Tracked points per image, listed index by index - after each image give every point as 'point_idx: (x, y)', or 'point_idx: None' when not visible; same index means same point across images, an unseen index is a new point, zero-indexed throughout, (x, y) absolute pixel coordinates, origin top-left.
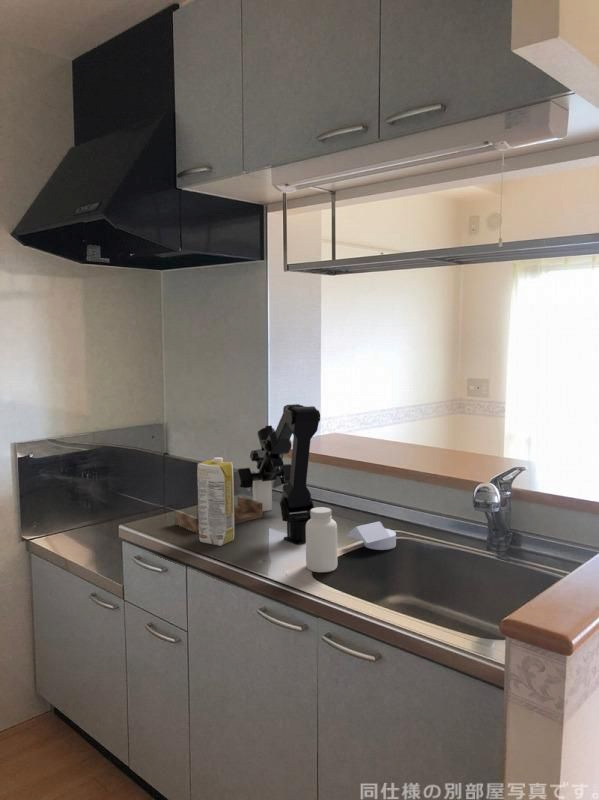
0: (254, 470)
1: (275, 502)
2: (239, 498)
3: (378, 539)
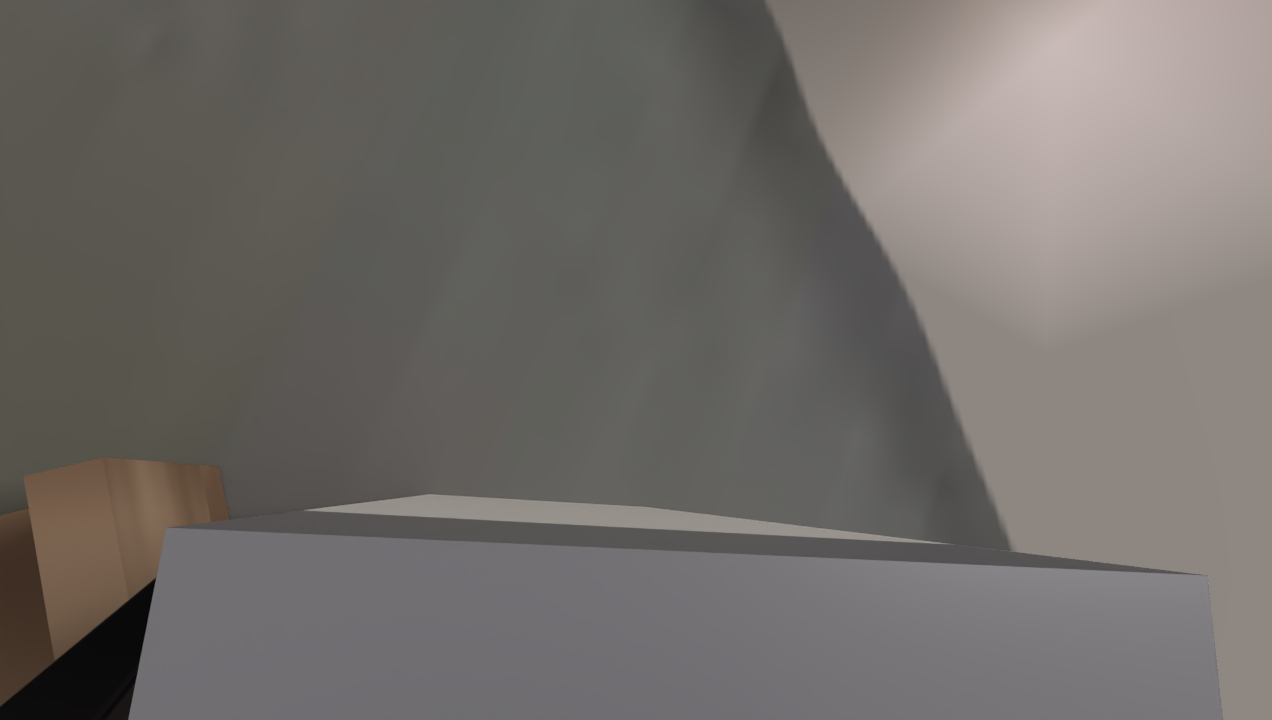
0: (323, 615)
1: (814, 366)
2: (51, 544)
3: None
